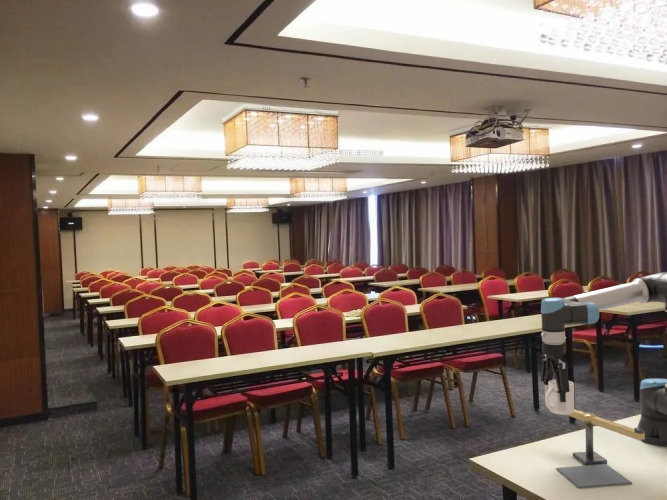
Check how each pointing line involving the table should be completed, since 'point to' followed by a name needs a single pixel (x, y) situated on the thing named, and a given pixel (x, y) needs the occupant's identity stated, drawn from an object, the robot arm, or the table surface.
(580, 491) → the table surface
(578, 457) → the lever post
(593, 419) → the lever
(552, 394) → the mug
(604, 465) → the felt mat
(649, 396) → the robot arm
